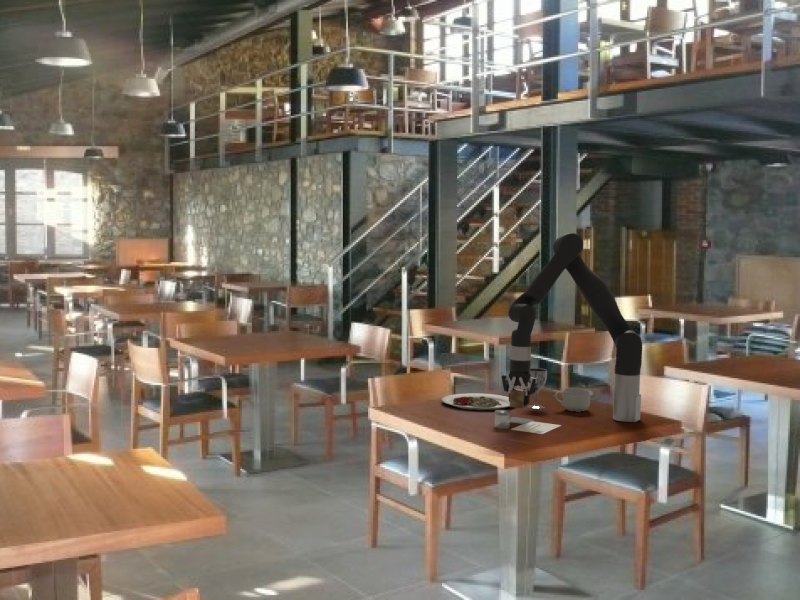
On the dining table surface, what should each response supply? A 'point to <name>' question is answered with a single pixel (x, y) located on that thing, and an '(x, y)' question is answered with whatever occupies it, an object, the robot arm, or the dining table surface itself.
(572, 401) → the teacup
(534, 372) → the wine glass
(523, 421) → the coaster
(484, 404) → the plated food
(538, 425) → the envelope
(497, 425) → the tin
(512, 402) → the walnut block
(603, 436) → the dining table surface
